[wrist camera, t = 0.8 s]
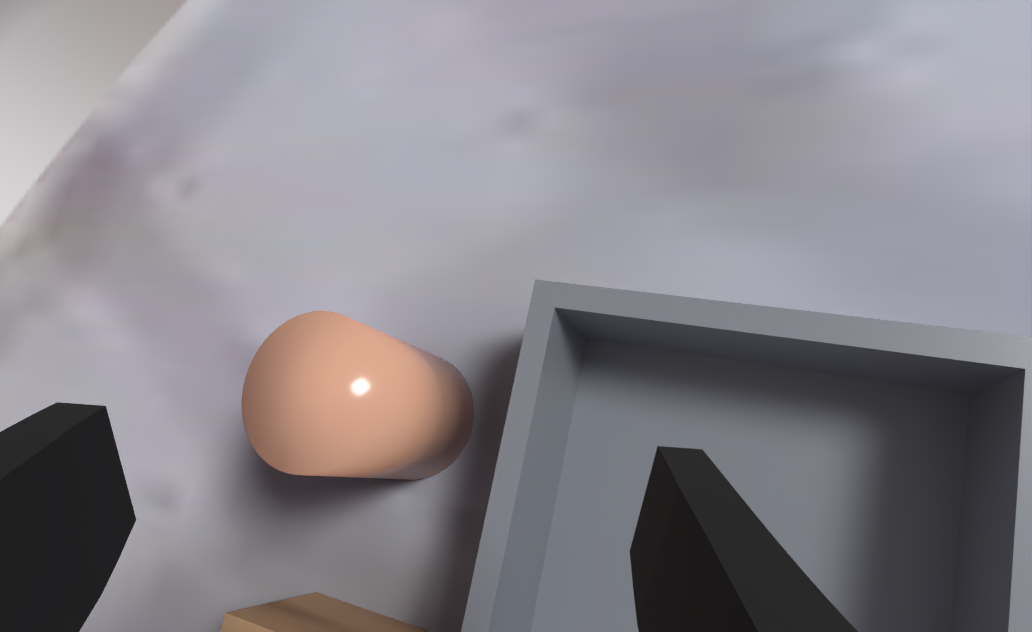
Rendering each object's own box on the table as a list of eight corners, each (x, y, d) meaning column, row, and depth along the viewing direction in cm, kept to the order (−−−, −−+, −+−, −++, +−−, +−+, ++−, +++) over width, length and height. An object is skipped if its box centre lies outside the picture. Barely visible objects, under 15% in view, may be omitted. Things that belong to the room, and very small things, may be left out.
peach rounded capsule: (457, 492, 25) (357, 492, 19) (348, 464, 27) (222, 455, 21) (486, 364, 26) (399, 322, 20) (378, 345, 28) (267, 302, 21)
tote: (947, 1041, 17) (1020, 1241, 13) (473, 826, 22) (401, 913, 17) (996, 375, 20) (1067, 341, 16) (574, 318, 25) (535, 279, 21)
